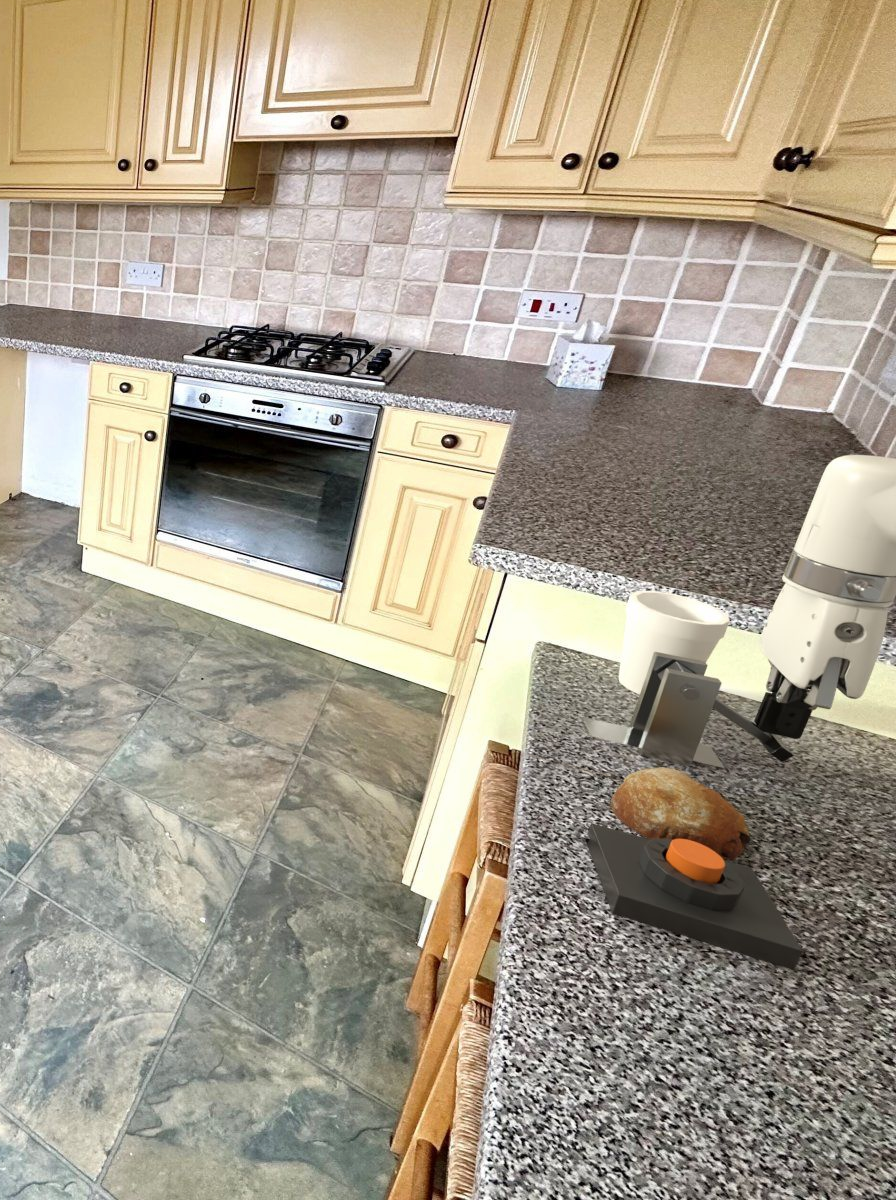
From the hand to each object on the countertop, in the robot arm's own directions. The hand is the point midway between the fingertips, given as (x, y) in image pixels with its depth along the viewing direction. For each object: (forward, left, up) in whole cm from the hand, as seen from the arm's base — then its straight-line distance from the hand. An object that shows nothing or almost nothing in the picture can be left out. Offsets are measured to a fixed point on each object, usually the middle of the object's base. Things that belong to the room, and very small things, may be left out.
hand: (776, 731), depth 84 cm
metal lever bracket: (+9, 0, -7) cm, 11 cm away
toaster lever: (+5, 0, 0) cm, 5 cm away
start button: (+13, +24, -4) cm, 27 cm away
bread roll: (+10, +13, -8) cm, 18 cm away
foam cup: (+5, -18, -8) cm, 20 cm away
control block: (+13, +24, -7) cm, 28 cm away
